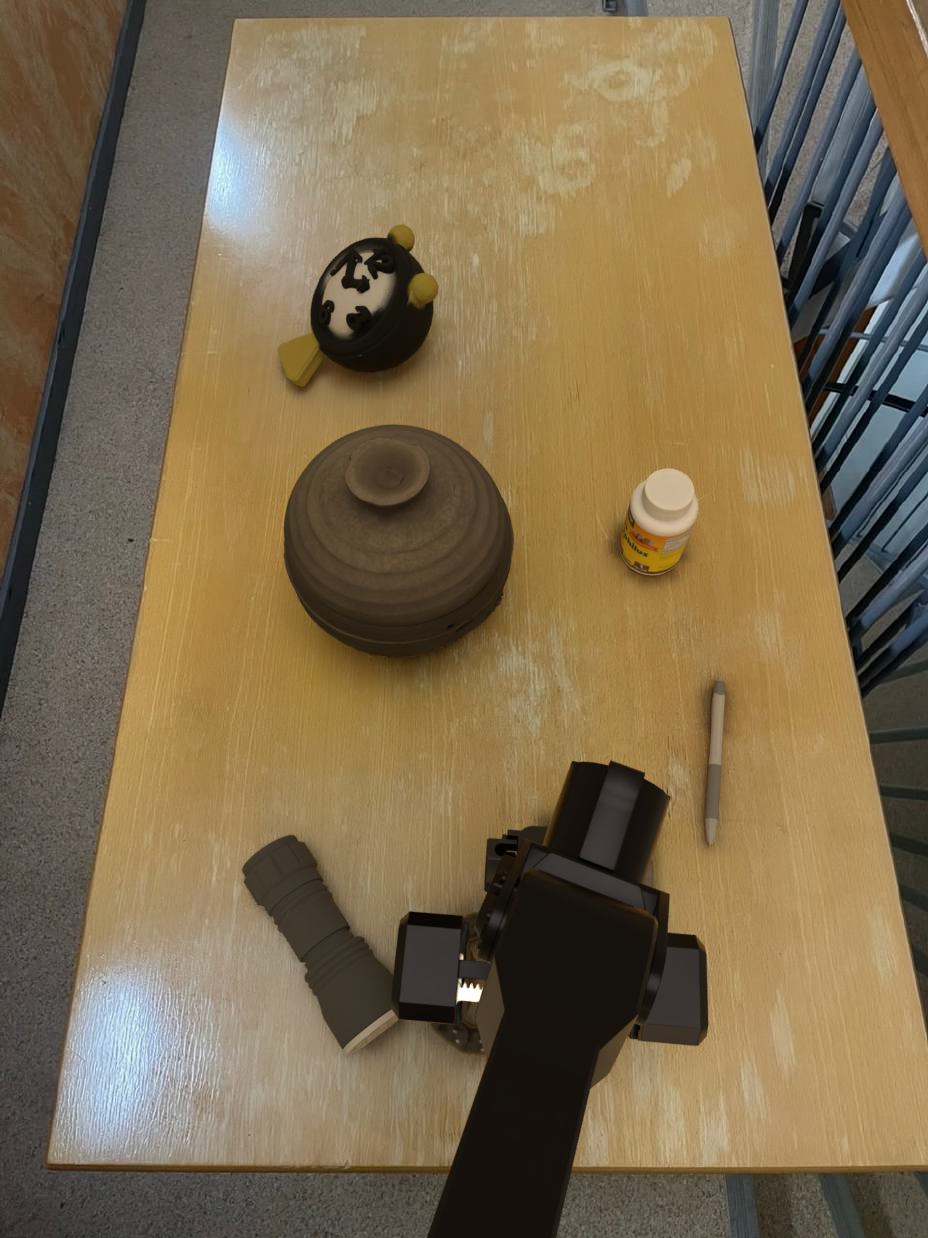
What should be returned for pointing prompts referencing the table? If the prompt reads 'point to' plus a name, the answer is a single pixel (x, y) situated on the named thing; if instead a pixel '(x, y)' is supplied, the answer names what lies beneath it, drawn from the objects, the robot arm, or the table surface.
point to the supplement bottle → (658, 522)
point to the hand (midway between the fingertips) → (541, 985)
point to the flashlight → (322, 942)
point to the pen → (715, 761)
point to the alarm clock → (366, 309)
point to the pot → (397, 541)
